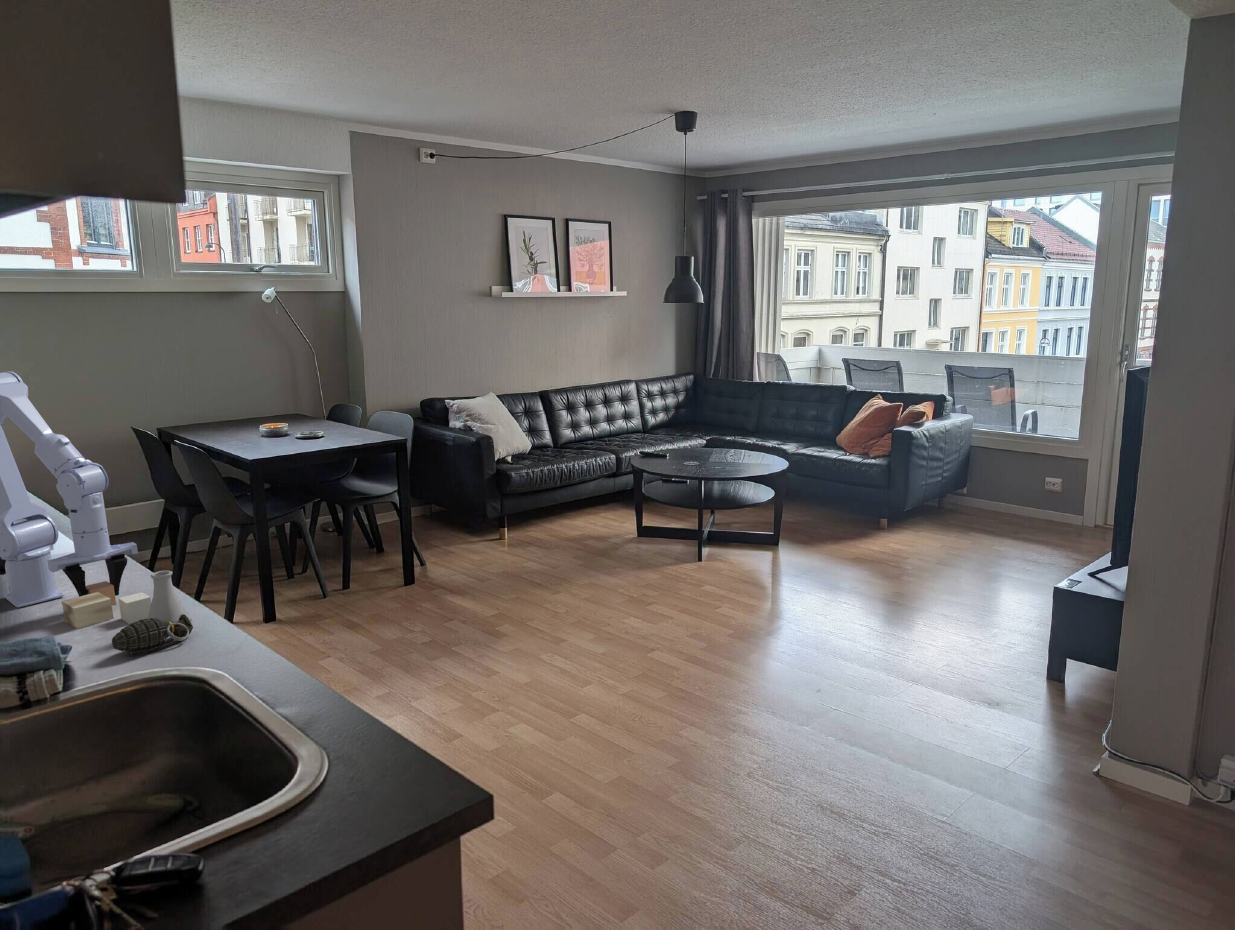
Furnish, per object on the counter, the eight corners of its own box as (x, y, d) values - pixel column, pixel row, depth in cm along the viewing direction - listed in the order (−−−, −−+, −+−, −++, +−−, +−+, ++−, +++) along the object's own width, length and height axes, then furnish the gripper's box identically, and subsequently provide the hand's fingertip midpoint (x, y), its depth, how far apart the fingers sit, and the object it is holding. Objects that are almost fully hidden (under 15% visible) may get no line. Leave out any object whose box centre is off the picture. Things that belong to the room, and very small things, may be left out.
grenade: (112, 621, 137) (185, 602, 147) (104, 639, 139) (176, 619, 149) (128, 652, 135) (202, 630, 145) (120, 670, 137) (192, 648, 147)
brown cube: (85, 606, 162) (82, 586, 161) (108, 600, 165) (106, 580, 164) (93, 611, 159) (90, 591, 159) (116, 605, 162) (113, 585, 161)
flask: (172, 636, 147) (164, 581, 145) (135, 633, 148) (128, 579, 146) (200, 620, 154) (193, 567, 152) (165, 617, 155) (158, 565, 153)
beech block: (65, 621, 155) (61, 601, 154) (101, 612, 159) (98, 591, 158) (77, 629, 151) (73, 608, 150) (113, 619, 155) (110, 598, 155)
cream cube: (121, 618, 155) (118, 598, 154) (144, 612, 158) (142, 592, 157) (129, 624, 153) (126, 603, 152) (153, 617, 156) (150, 597, 155)
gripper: (51, 542, 151) (63, 614, 154) (139, 524, 162) (148, 592, 165) (39, 535, 156) (51, 605, 159) (125, 518, 166) (135, 584, 169)
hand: (100, 598), depth 162 cm, fingers open, 5 cm apart
